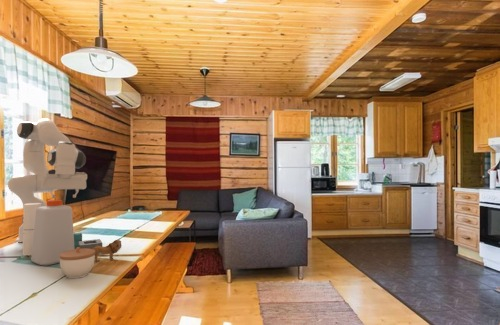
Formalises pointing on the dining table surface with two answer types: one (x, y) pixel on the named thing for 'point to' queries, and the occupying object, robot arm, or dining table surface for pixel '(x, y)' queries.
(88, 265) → the lidded bowl
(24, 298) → the dining table surface
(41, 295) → the dining table surface
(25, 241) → the cylindrical container
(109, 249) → the lion figurine
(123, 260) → the dining table surface
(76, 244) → the teal pin
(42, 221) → the plastic bottle
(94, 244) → the bore block
